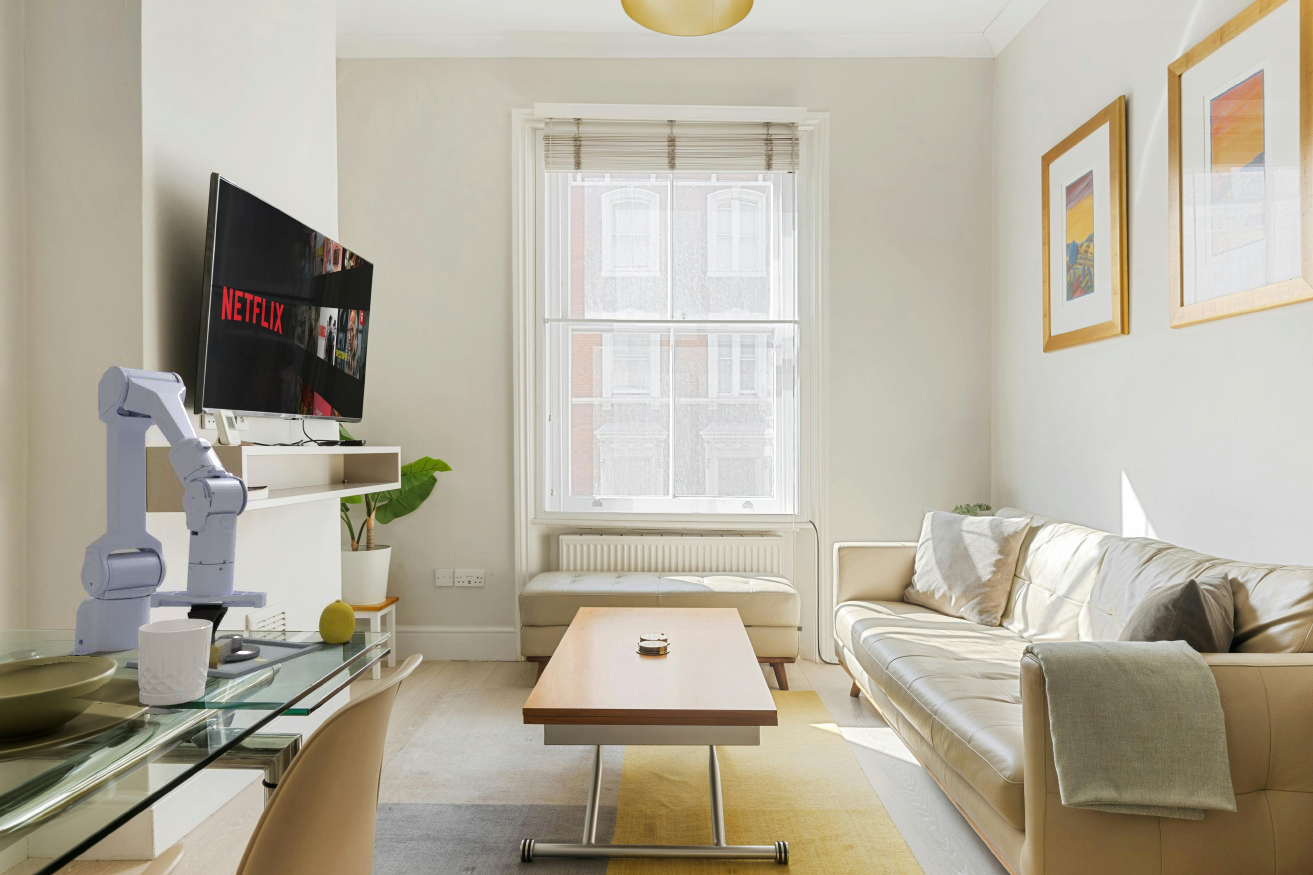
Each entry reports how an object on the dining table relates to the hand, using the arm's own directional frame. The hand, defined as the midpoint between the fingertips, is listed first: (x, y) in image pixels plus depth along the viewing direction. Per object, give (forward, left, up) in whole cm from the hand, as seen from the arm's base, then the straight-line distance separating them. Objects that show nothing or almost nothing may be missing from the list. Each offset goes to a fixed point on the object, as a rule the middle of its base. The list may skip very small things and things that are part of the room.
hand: (206, 658), depth 110 cm
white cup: (+7, -12, -3) cm, 15 cm away
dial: (0, +4, -1) cm, 4 cm away
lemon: (+7, +20, -3) cm, 21 cm away
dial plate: (-1, +6, -2) cm, 6 cm away
